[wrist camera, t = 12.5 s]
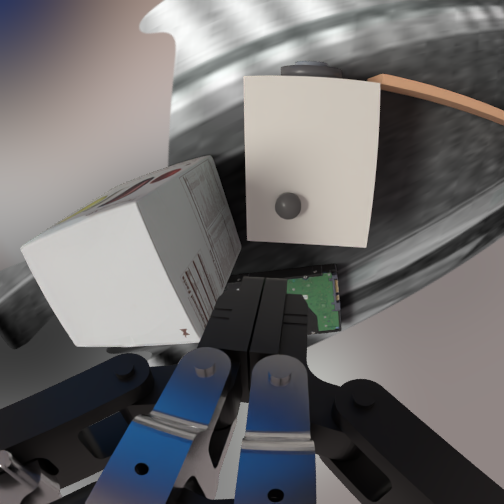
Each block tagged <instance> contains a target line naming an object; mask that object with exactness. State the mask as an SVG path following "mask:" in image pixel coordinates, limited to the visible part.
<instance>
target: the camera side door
mask: <svg viewBox="0 0 504 504" xmlns="http://www.w3.org/2000/svg"><path fill="white" fill-rule="evenodd" d="M367 81H368V82H376V83H380V90H385V91H390V92H395V93H399V94H404V95H408V96H412V97H416V98H420V99H424V100H428V101H432V102H435V103H439V104H442V105H446V106H449V107H452V108H456V109H459V110H462V111H465V112H468V113H471V114H474V115H477V116H480V117H482V118H485V119H488V120H491V121H493V122H496V123H498V124H501V125H503V126H504V111H503V110H501V109H498V108H496V107H493V106H491V105H488V104H486V103H483V102H481V101H478V100H475V99H472V98H470V97H467V96H464V95H461V94H458V93H455V92H452V91H449V90H445V89H442V88H439V87H435V86H432V85H428V84H425V83H421V82H417V81H413V80H409V79H405V78H401V77H396V76H392V75H387V74H380V75H377V76H374V77H371V78H368V79H367Z"/></svg>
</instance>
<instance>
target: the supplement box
mask: <svg viewBox="0 0 504 504" xmlns="http://www.w3.org/2000/svg"><path fill="white" fill-rule="evenodd" d="M20 249H21V251H22V253H23V256H24V258H25V259H26V262H27V264H28V266H29V268H30V270H31V272H32V273H33V275H34V277H35V279H36V281H37V283H38V285H39V287H40V288H41V290H42V292H43V294H44V296H45V297H46V299H47V301H48V303H49V304H50V306H51V308H52V309H53V311H54V313H55V314H56V316H57V318H58V319H59V321H60V322H61V324H62V325H63V327H64V329H65V330H66V332H67V333H68V335H69V336H70V338H71V339H72V341H73V342H74V344H75V345H76V346H84V347H85V346H86V347H133V346H152V345H169V344H184V343H197V342H200V339H201V337H202V335H203V332H204V330H205V327H206V325H207V323H208V320H209V318H210V316H211V313H212V311H213V310H214V306H215V304H216V301H217V299H218V297H219V296H220V295H222V293H223V291H224V288H225V286H226V283H227V281H228V279H229V276H230V274H231V272H232V269H233V267H234V264H235V262H236V260H237V257H238V255H239V252H240V250H241V243H240V240H239V237H238V234H237V231H236V228H235V224H234V221H233V218H232V215H231V212H230V209H229V206H228V203H227V200H226V197H225V194H224V190H223V187H222V184H221V181H220V178H219V175H218V172H217V169H216V166H215V163H214V160H213V158H212V156H209V155H208V156H203V157H199V158H195V159H192V160H188V161H185V162H181V163H178V164H175V165H172V166H169V167H166V168H163V169H160V170H157V171H155V172H152V173H149V174H146V175H144V176H141V177H139V178H136V179H133V180H131V181H128V182H126V183H123V184H121V185H119V186H117V187H115V188H113V189H111V190H109V191H108V192H106V193H104V194H103V195H101V196H100V197H98V198H96V199H95V200H93V201H91V202H90V203H88V204H86V205H85V206H83V207H81V208H80V209H78V210H77V211H75V212H73V213H72V214H70V215H69V216H67V217H65V218H64V219H62V220H61V221H59V222H58V223H56V224H55V225H53V226H52V227H50V228H49V229H47V230H46V231H44V232H43V233H41V234H40V235H38V236H37V237H35V238H33V239H32V240H30V241H28V242H27V243H25V244H24V245H23V246H21V248H20Z"/></svg>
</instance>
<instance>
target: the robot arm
mask: <svg viewBox="0 0 504 504" xmlns="http://www.w3.org/2000/svg"><path fill="white" fill-rule="evenodd" d="M307 324H308V304H307V302H306V300H305V299H304V297H303V296H302V294H287V279H279V278H266V281H265V278H263V277H248V276H244V277H243V279H242V282H241V285H240V288H239V290H229V289H227V290H226V291H225V292H224V293H223V294H222V295H220V296H219V297H218V299H217V301H216V304H215V306H214V310H213V311H212V313H211V316H210V318H209V320H208V323H207V325H206V327H205V330H204V332H203V335H202V337H201V339H200V342H199V344H198V347H197V349H194V350H191V351H190V352H188V353H186V354H185V355H184V356H183V357H182V359H181V360H180V362H179V363H178V364H175V365H169V366H157V367H149V364H148V362H147V360H146V359H145V358H143V357H142V356H140V355H137V354H133V353H126V354H121V355H118V356H115V357H113V358H111V359H109V360H107V361H105V362H103V363H101V364H99V365H97V366H94V367H92V368H90V369H88V370H86V371H84V372H82V373H80V374H77V375H75V376H73V377H71V378H69V379H67V380H65V381H62V382H61V383H58V384H56V385H54V386H52V387H49V388H47V389H45V390H43V391H41V392H38V393H36V394H34V395H32V396H30V397H27V398H25V399H23V400H21V401H18V402H16V403H14V404H12V405H9V406H7V407H5V408H3V409H0V504H316V466H315V454H318V455H319V456H320V458H321V460H322V461H323V462H324V463H325V465H326V466H327V467H328V468H329V469H330V470H331V471H332V472H333V473H334V475H335V476H336V477H337V478H338V479H339V480H340V481H341V482H342V483H343V484H344V486H346V488H347V489H348V490H349V491H350V492H351V493H352V494H353V495H354V496H355V497H356V498H357V499H358V500H359V501H360V502H361V504H504V489H502V488H501V487H500V486H499V485H498V484H496V483H495V482H494V481H493V480H492V479H490V478H489V477H488V476H487V475H485V474H484V473H483V472H482V471H481V470H479V469H478V468H477V467H476V466H475V465H473V464H472V463H471V462H470V461H469V460H467V459H466V458H465V457H464V456H463V455H461V454H460V453H459V452H458V451H457V450H455V449H454V448H453V447H452V446H451V445H450V444H448V443H447V442H446V441H445V440H444V439H443V438H441V437H440V436H439V435H438V434H437V433H435V432H434V431H433V430H432V429H431V428H430V427H428V426H427V425H426V424H425V423H424V422H423V421H421V420H420V419H419V418H418V417H417V416H416V415H414V414H413V413H412V412H411V411H410V410H408V409H407V408H406V407H405V406H404V405H403V404H402V403H400V402H399V401H398V400H397V399H396V398H395V397H394V396H392V395H391V394H390V393H389V392H388V391H387V390H385V389H384V388H383V387H382V386H381V385H379V384H378V383H376V382H373V381H371V380H367V379H356V380H351V381H348V382H346V383H344V384H343V385H342V386H341V387H340V386H337V385H333V384H330V383H327V382H324V381H322V380H320V379H319V378H317V377H316V376H314V374H312V372H311V371H310V370H309V368H308V365H307V361H306V357H307ZM240 402H246V403H249V405H248V415H247V424H246V431H245V437H244V438H243V440H242V445H241V452H240V459H239V467H238V475H237V483H236V490H235V498H234V499H222V500H214V498H215V496H216V492H217V488H218V480H219V474H220V470H221V467H222V464H223V461H224V458H225V455H226V453H227V450H228V447H229V444H230V441H231V438H232V435H233V432H234V429H235V426H236V423H237V415H238V410H239V406H240ZM118 411H119V412H118ZM116 412H117V413H116ZM114 413H115V414H114ZM112 414H113V415H112ZM110 415H111V416H110ZM108 416H109V417H108ZM106 417H107V418H106ZM104 418H105V419H104ZM102 419H103V420H102ZM100 420H101V421H100ZM98 421H99V422H98ZM96 422H97V423H96ZM94 423H95V424H94ZM92 424H93V425H92ZM90 425H91V426H90ZM103 469H104V470H103ZM101 470H103V472H102V474H101V475H100V477H99V479H98V481H96V482H93V483H91V484H89V485H87V486H85V487H83V488H81V489H79V490H77V491H74V492H72V493H71V494H68V495H66V496H64V497H62V496H61V494H60V489H61V488H64V487H66V486H69V485H71V484H73V483H75V482H78V481H80V480H82V479H84V478H87V477H89V476H91V475H93V474H95V473H97V472H99V471H101Z"/></svg>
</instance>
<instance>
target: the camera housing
mask: <svg viewBox="0 0 504 504" xmlns="http://www.w3.org/2000/svg"><path fill="white" fill-rule="evenodd" d="M379 118H380V83H376V82H368V81H360V80H350V79H342V70H341V69H338V68H333V67H328V64H327V63H324V62H317V61H298V62H295V65H290V66H283V67H281V76H244V124H245V170H246V213H247V241H261V242H279V243H297V244H314V245H331V246H347V247H363V248H366V246H367V239H368V233H369V226H370V219H371V211H372V203H373V194H374V185H375V175H376V164H377V152H378V137H379Z"/></svg>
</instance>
